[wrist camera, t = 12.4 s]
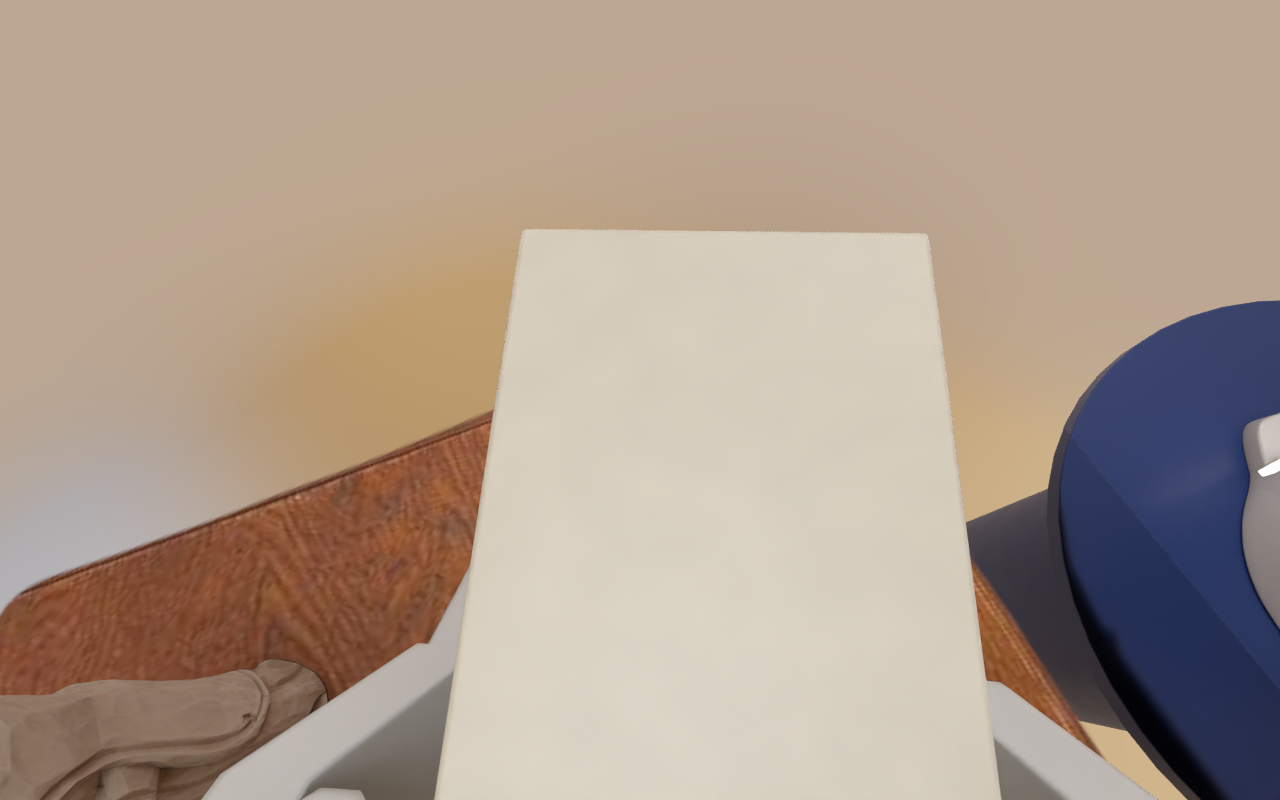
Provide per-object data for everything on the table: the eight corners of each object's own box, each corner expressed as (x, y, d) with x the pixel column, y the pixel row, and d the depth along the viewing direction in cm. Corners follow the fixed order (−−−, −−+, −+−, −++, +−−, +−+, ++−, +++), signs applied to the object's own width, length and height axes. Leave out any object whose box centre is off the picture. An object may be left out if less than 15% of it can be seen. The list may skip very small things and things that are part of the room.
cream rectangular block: (752, 524, 16) (932, 229, 4) (753, 800, 13) (1111, 1590, 2) (633, 518, 16) (520, 226, 5) (616, 789, 14) (328, 1455, 2)
